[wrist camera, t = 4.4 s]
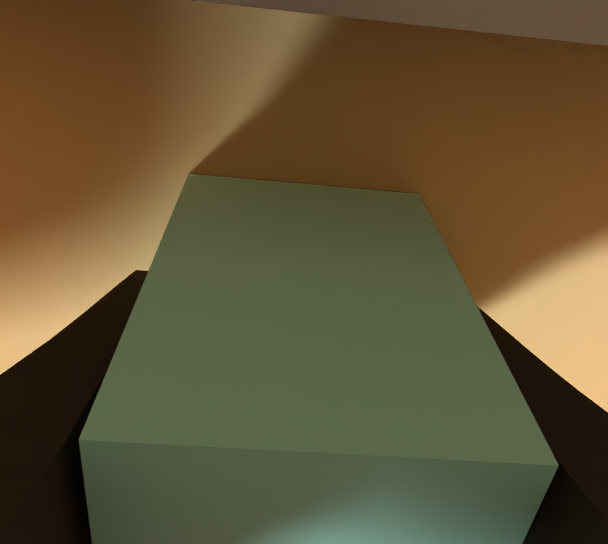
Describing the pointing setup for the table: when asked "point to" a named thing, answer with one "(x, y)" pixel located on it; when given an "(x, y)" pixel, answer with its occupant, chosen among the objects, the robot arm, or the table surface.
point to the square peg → (308, 383)
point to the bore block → (468, 15)
